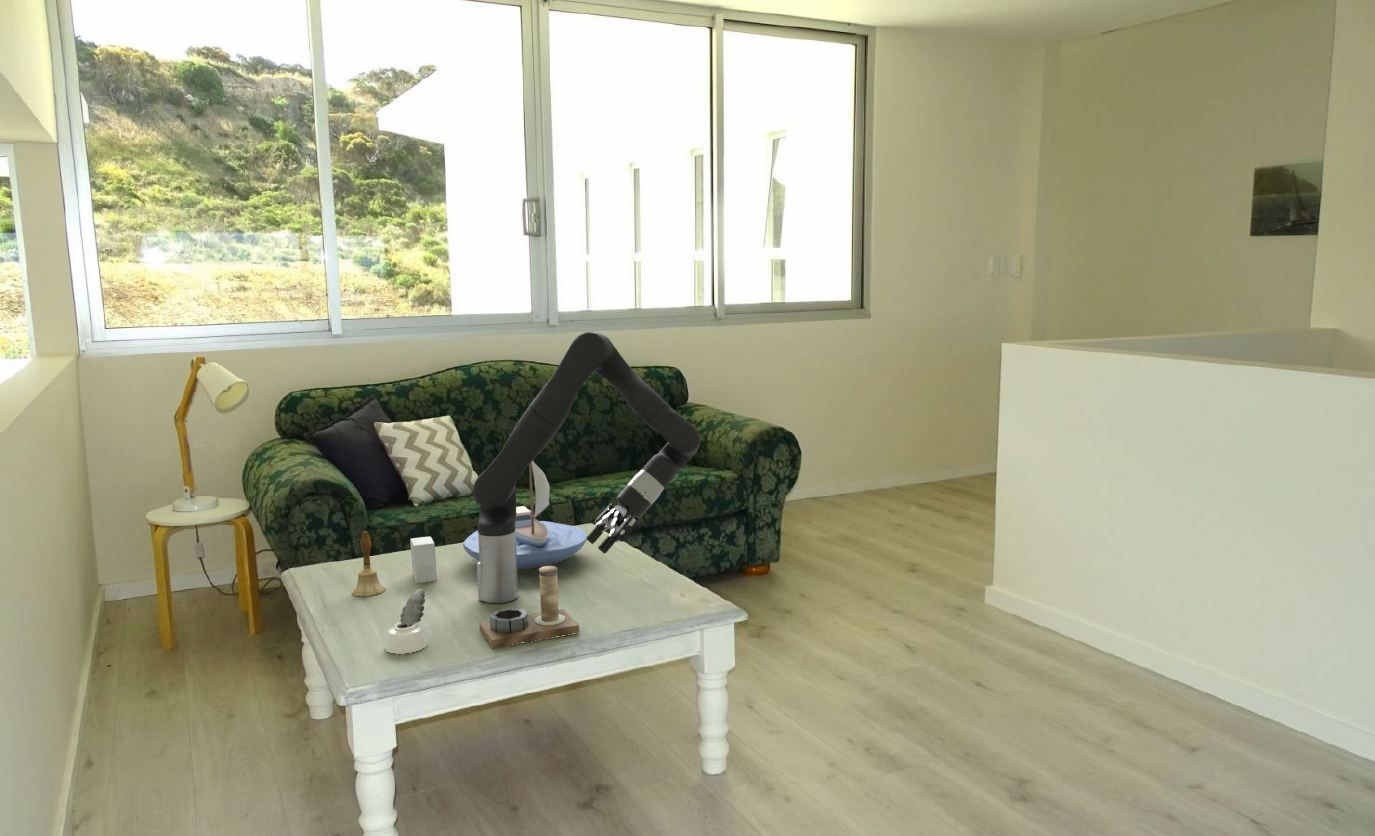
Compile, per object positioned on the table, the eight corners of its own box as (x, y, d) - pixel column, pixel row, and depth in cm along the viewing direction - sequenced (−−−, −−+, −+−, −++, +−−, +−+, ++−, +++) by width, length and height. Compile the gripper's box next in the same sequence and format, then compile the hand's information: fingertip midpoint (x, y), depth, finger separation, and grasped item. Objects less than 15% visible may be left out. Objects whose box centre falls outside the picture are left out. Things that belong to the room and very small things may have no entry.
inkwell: (378, 655, 213) (375, 611, 211) (403, 625, 230) (401, 584, 229) (421, 654, 213) (418, 610, 211) (442, 624, 230) (440, 583, 229)
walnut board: (492, 648, 215) (491, 640, 215) (479, 630, 226) (479, 622, 226) (579, 633, 223) (579, 624, 223) (563, 616, 234) (562, 608, 234)
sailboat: (480, 589, 255) (474, 467, 250) (452, 555, 287) (446, 446, 282) (605, 570, 270) (601, 455, 265) (565, 539, 301) (561, 435, 296)
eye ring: (486, 632, 219) (485, 619, 219) (498, 620, 227) (498, 607, 226) (520, 634, 218) (520, 621, 217) (532, 621, 226) (531, 609, 225)
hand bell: (349, 589, 257) (345, 530, 255) (382, 584, 261) (378, 526, 258) (355, 598, 250) (350, 538, 247) (388, 593, 254) (384, 533, 251)
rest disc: (530, 624, 223) (530, 623, 223) (540, 614, 230) (540, 613, 230) (560, 626, 222) (560, 625, 222) (568, 615, 229) (568, 614, 229)
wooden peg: (538, 621, 225) (536, 571, 223) (544, 615, 229) (542, 565, 227) (556, 622, 224) (554, 571, 222) (561, 616, 228) (559, 566, 226)
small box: (437, 581, 263) (435, 543, 261) (415, 584, 261) (413, 545, 259) (433, 572, 270) (431, 535, 268) (412, 575, 268) (410, 538, 266)
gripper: (618, 477, 236) (574, 529, 234) (641, 489, 224) (594, 544, 221) (639, 496, 240) (595, 548, 237) (662, 510, 227) (616, 564, 224)
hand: (595, 546), depth 229 cm, fingers open, 8 cm apart
